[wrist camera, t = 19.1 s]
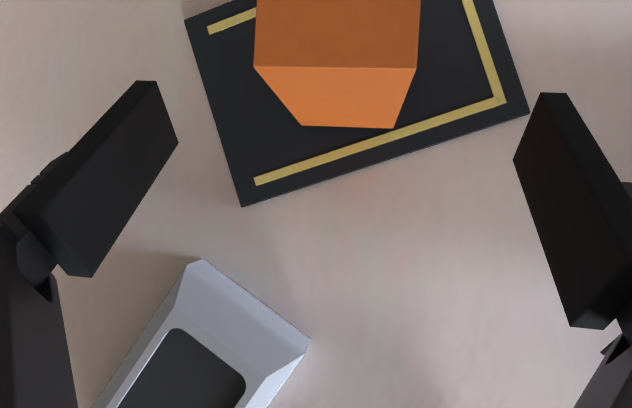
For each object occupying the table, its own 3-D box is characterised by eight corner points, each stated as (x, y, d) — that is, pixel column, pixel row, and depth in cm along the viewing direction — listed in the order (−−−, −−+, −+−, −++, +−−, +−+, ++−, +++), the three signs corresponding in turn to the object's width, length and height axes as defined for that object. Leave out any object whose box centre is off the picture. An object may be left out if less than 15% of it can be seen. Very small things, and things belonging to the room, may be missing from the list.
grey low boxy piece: (301, 361, 23) (167, 549, 24) (310, 339, 27) (193, 503, 28) (178, 267, 24) (54, 452, 25) (202, 258, 28) (94, 420, 29)
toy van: (311, -19, 26) (267, -204, 14) (401, -20, 25) (434, -216, 13) (303, 128, 26) (252, 67, 14) (392, 131, 25) (416, 69, 14)
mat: (460, -87, 25) (462, -92, 25) (528, 114, 25) (531, 112, 24) (186, 22, 28) (183, 19, 27) (242, 207, 27) (240, 207, 27)
